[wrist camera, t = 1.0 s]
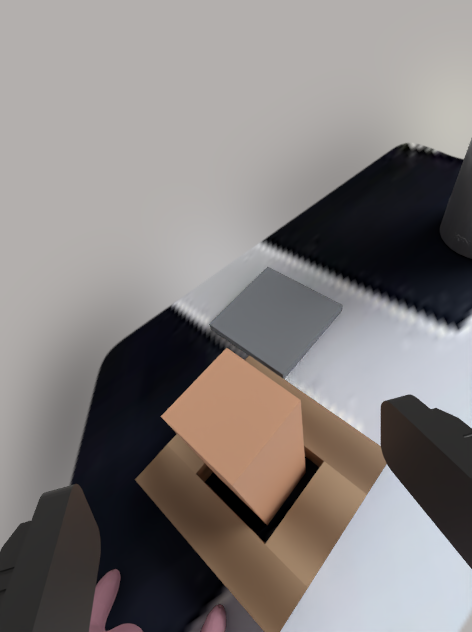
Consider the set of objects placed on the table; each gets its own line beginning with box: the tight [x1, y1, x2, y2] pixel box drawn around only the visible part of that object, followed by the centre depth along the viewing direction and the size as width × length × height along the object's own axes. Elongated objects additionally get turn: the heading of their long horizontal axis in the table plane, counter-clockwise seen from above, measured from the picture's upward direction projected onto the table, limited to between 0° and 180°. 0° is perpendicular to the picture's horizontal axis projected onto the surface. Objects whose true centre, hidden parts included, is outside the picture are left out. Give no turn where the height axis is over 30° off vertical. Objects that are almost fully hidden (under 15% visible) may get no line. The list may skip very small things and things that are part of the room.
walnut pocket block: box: [135, 355, 387, 632], centre depth 28 cm, size 14×14×3 cm
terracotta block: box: [161, 348, 306, 525], centre depth 24 cm, size 5×5×15 cm
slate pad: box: [209, 267, 342, 379], centre depth 38 cm, size 10×10×1 cm
